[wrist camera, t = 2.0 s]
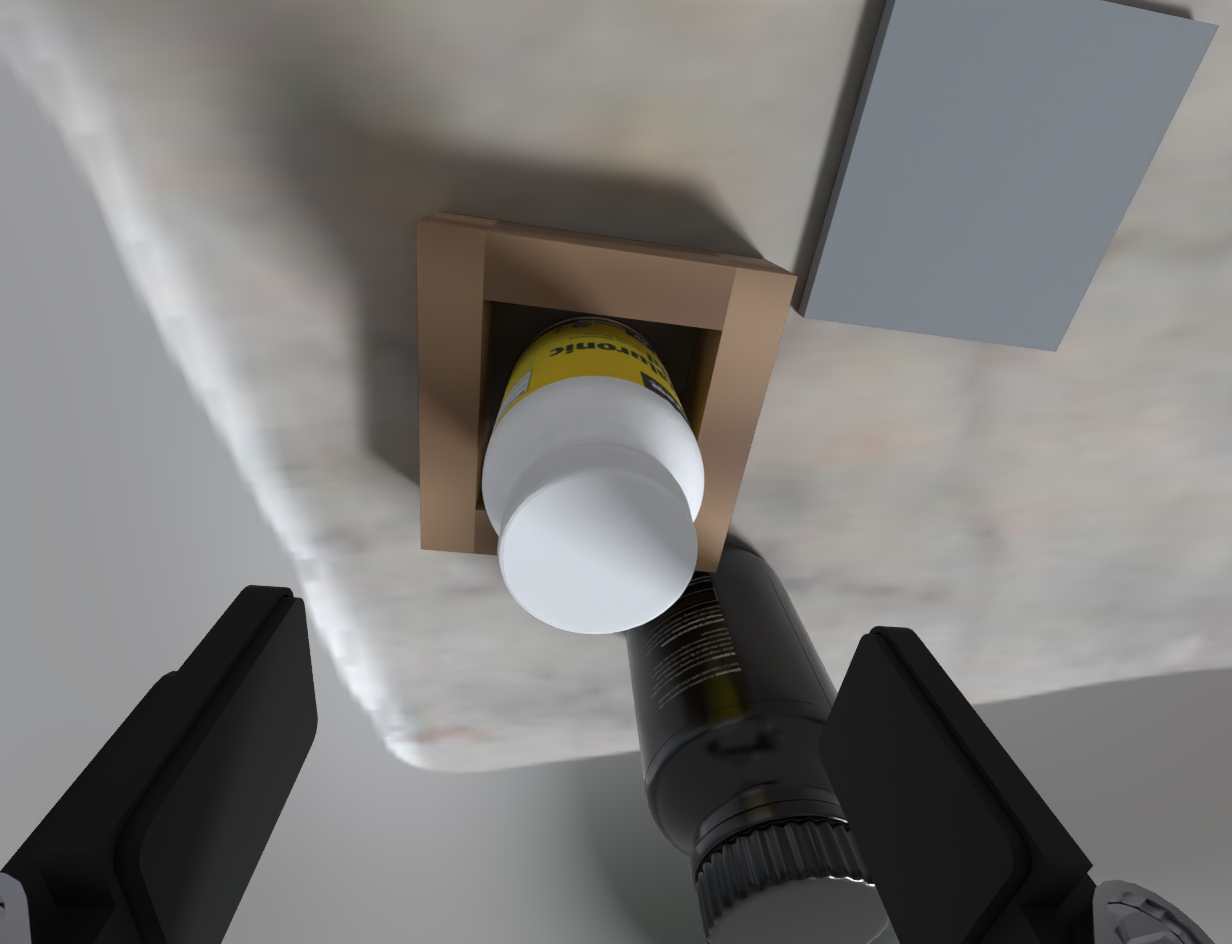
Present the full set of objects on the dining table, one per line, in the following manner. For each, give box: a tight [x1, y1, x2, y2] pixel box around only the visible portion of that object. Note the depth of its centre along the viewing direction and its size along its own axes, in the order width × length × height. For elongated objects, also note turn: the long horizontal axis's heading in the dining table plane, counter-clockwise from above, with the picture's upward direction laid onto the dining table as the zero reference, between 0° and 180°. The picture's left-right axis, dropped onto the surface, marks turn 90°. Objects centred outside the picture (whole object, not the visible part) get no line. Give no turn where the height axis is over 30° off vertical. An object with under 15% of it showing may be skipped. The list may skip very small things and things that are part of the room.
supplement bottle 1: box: [482, 317, 704, 634], centre depth 16 cm, size 5×5×10 cm
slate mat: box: [798, 0, 1219, 352], centre depth 17 cm, size 9×9×1 cm
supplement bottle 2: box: [625, 545, 890, 944], centre depth 20 cm, size 7×7×12 cm
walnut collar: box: [416, 212, 798, 572], centre depth 19 cm, size 10×10×3 cm
